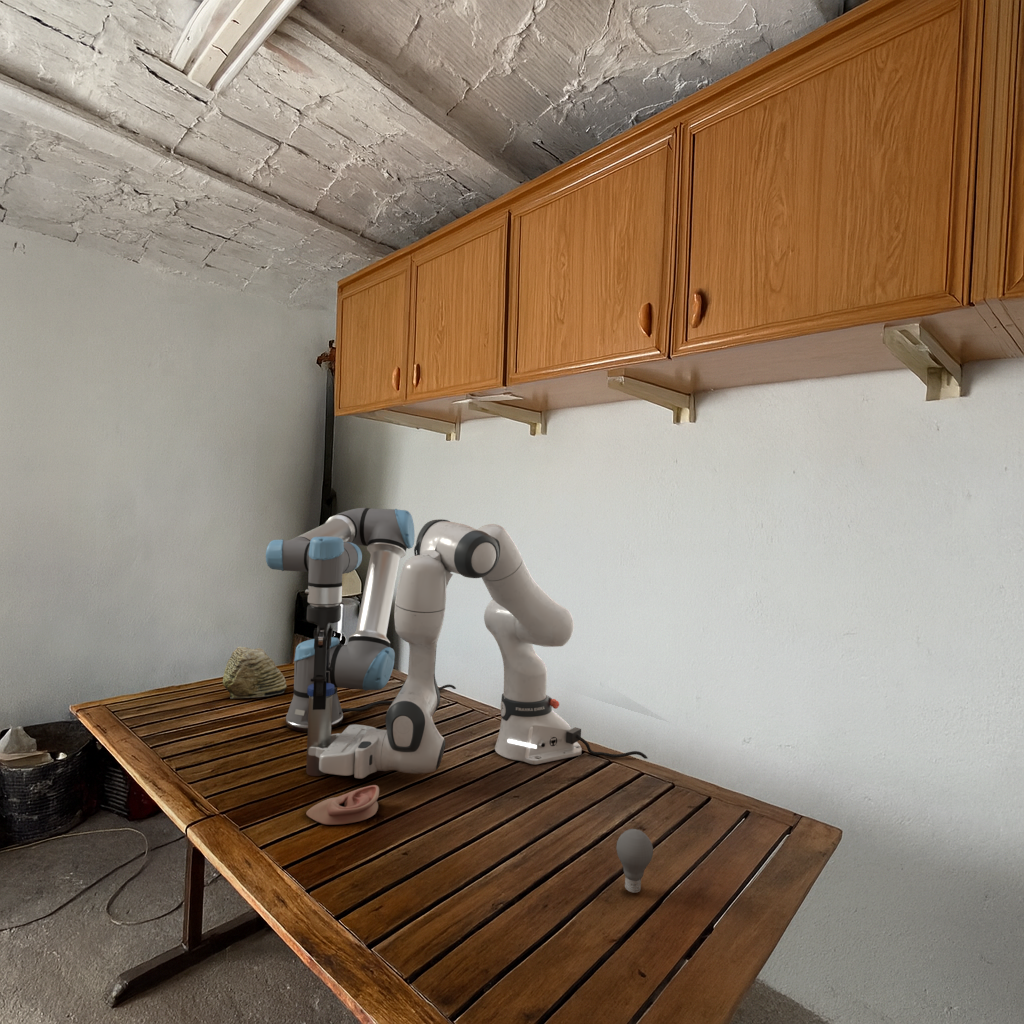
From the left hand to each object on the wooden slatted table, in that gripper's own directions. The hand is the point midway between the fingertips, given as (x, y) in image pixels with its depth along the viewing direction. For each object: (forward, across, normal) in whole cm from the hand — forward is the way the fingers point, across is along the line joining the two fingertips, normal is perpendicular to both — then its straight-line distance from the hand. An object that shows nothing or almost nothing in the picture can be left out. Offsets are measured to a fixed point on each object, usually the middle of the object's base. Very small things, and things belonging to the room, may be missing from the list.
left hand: (320, 704), depth 146 cm
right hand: (+9, 0, -1) cm, 10 cm away
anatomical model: (+16, +20, +7) cm, 26 cm away
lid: (-4, 0, 0) cm, 4 cm away
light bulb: (+16, +53, +55) cm, 78 cm away
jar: (+16, 0, 0) cm, 16 cm away
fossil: (+16, -58, -24) cm, 65 cm away
